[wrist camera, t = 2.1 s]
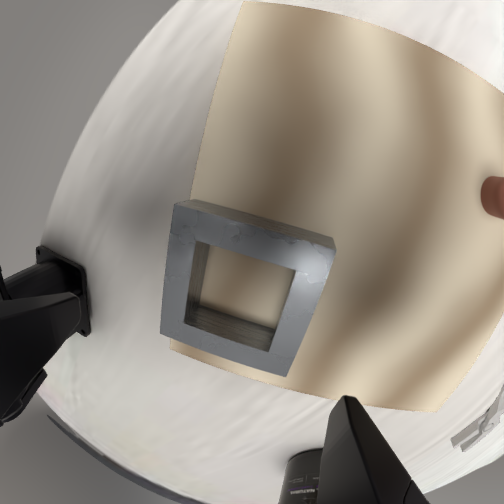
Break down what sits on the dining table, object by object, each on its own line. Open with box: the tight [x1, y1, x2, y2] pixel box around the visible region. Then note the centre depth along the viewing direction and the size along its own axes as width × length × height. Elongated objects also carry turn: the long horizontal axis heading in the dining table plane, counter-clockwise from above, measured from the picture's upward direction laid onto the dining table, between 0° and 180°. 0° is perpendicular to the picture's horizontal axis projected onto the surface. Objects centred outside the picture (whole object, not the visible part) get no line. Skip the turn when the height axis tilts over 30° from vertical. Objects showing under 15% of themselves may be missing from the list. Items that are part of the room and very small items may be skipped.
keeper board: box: [170, 1, 504, 412], centre depth 10 cm, size 19×20×6 cm
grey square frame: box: [160, 199, 337, 377], centre depth 12 cm, size 6×6×2 cm
